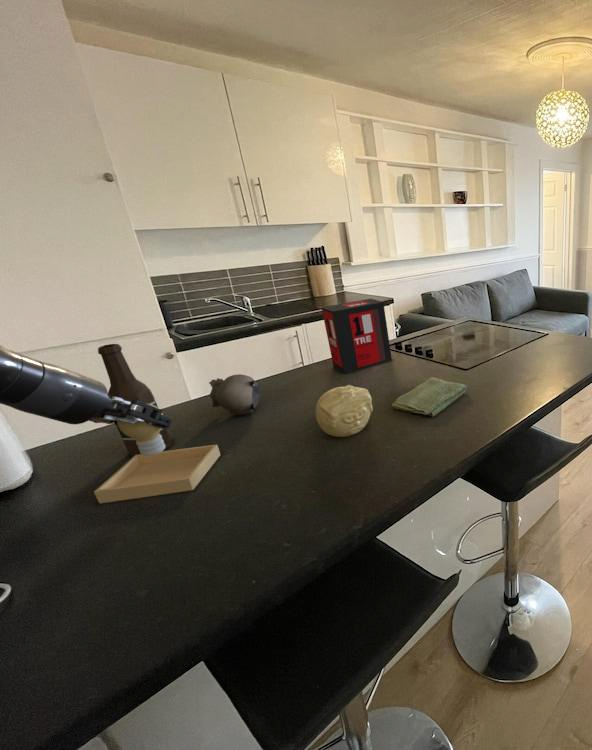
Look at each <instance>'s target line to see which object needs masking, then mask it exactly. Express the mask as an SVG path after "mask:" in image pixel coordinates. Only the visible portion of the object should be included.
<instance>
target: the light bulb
mask: <svg viewBox="0 0 592 750" xmlns="http://www.w3.org/2000/svg"><path fill="white" fill-rule="evenodd" d="M148 405H151V404H148ZM151 406H153V407H156V406H154V405H151ZM156 408H158V409H160V408H159V406H158V407H156ZM161 415H164V413H163V412H162V414H161ZM130 417H131V416H129V415H127V416H126V417H125V418H126V419H129V418H130ZM117 423H118V427H119V429H120V430H121V431H122V432H123V433H124V434H125V435H127V436H129V437H131V438H133V439H135V440H137V441H136V444H137V446H138V449H139V450H140V453H141V455H144V456H153V455H156V454H159V453H161V452H162V451H165V450H166V449H165V444H164V441H163V439H162V436H161V435H160V434H159V432H160V430H161V428H158V427H155V426H152V425H146V424H144V423H139V422H135V423H132V424H129V423H124V422H120V421H117ZM164 449H165V450H164Z"/></svg>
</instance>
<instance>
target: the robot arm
mask: <svg viewBox="0 0 592 750" xmlns="http://www.w3.org/2000/svg"><path fill="white" fill-rule="evenodd" d="M0 405H4V406H6V407H9V408H12V409H15V410H17V411H20V412H23V413H26V414H30V415H34V416H38V417H42V418H45V419H50V420H53V421H57V422H60V423H64V424H69V425H82V424H84V423H87V422H88V421H89V422H92V423H94V424H100V423H101V424H106V425H115V426H116V425H118V423H117V421H120V422H124V423H129V424H132V423H135V422H139V423H144V424H146V425H152V426H155V427H158V428H161V429H167V430H168V429H170V428H171V425H172V422H173V419H172V417H170V416H167V415H164V414H163V415H161V414H162V413H163V411H164V410H163V409H162V408H159V407H158V408H159V409H158V408H156V407H153V406H151V405H148V404H146V403H143V402H141V401H139V400H132V401H131V402H129V401H125V400H123V399H122V398H119V397H115V396H108V388H107V387H106V385H105V384H104V383H102V381H99V380H96V379H93V378H92V377H88V376H86V375H83V374H81V373H78V372H75V371H72V370H70V369H68V368H65V367H61V366H59V365H56V364H52V363H49V362H45V361H41V360H39V359H35V358H33V357H30V356H27V355H24V354H21V353H19V352H16V351H14V350H11V349H9V348H8V349H7V348H6V347H4V346H3V345H1V344H0ZM127 415H129V416H131V417H130V418H129V419H126V418H125V417H126V416H127Z"/></svg>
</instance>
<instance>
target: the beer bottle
mask: <svg viewBox="0 0 592 750" xmlns="http://www.w3.org/2000/svg"><path fill="white" fill-rule="evenodd" d="M122 350H123V348H122V346H121V345H120V344H119V343H110V344H104V345H101V346H98V348H97V353H98V355H100V356H101V359H102V361H103V365H104V368H105V370H106V373H107V376H108V379H109V384H110V387H109V389H108V390H107V392H108V396H115V397H119V398H122V399H123V400H125V401H129V402H131V401H132V400H139V401H141V402H143V403H146V404H151V405H154V406H156V407H158V408H159V406H158V403H157V401H156V399H155V395H154V394H153V392H152V390H151V389H150V387H148V385H146V384H145V383H144V382H142V381H141V380H139V379H137V378H136V376H135V375H134V374H133V372H132V370H131V368H130V365H129V363H128V362H127V359H126V358H125V355H124V354H123V352H122ZM115 426H116V428H117V430H118V433H119V436H120V438H121V440H122V442H123V444H124V446H125V449H126V451H127V452H128V454H129V456H130V457H131V458H133V457H134V456H135V455H139V454H141V453H140V450H139V449H138V446H137V444H136V441H137V440H135V439H133V438H131V437H129V436H127V435H125V434H124V433H123V432H122V431H121V430H120V429H119V427H118V425H116V424H115ZM159 434H160V435H161V436H162V439H163V441H164V444H165V449H164V450H163V451H166V449H168V448H169V447H171V446H172V442H171V438H170V434H169V432H168V429H161V430H160V432H159Z"/></svg>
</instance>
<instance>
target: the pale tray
mask: <svg viewBox="0 0 592 750" xmlns="http://www.w3.org/2000/svg"><path fill="white" fill-rule="evenodd" d="M221 456H222V454H221V452H220V449H219V446H218V444H210V445H202V446H195V447H187V448H179V449H172V450H163V451H162V452H161V453H159V454H156V455H153V456H144V455H141V454H139V455H135V456H134V457H131V458H130V459H129V460H128V461H127V462H125V464H123V465H122V466H121V467H120V468H119V469H118V470H117V471H115V472H114V473H113V474H112V475H111V476H110V477H109V478H107V480H106V481H104V482H103V483H102V484H101V485H100V486H98V488H96V489H95V490H94V491H93V493H94V496H95V497H96V499H97V502H98V503H99V504H107V503H113V502H121V501H128V500H134V499H141V498H149V497H154V496H161V495H162V496H163V495H168V494H175V493H176V494H177V493H182V492H183V493H184V492H189V491H190V492H191V491H194V490H195V488H196V487H197V486H198V485H199V483H201V481H202V480H203V478H204V477H205V476H206V474H207V473H208V472H209V471H210V469H211V468H212V467H213V466H214V464H215V463H216V462H217V460H218V459H219V457H221Z"/></svg>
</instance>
